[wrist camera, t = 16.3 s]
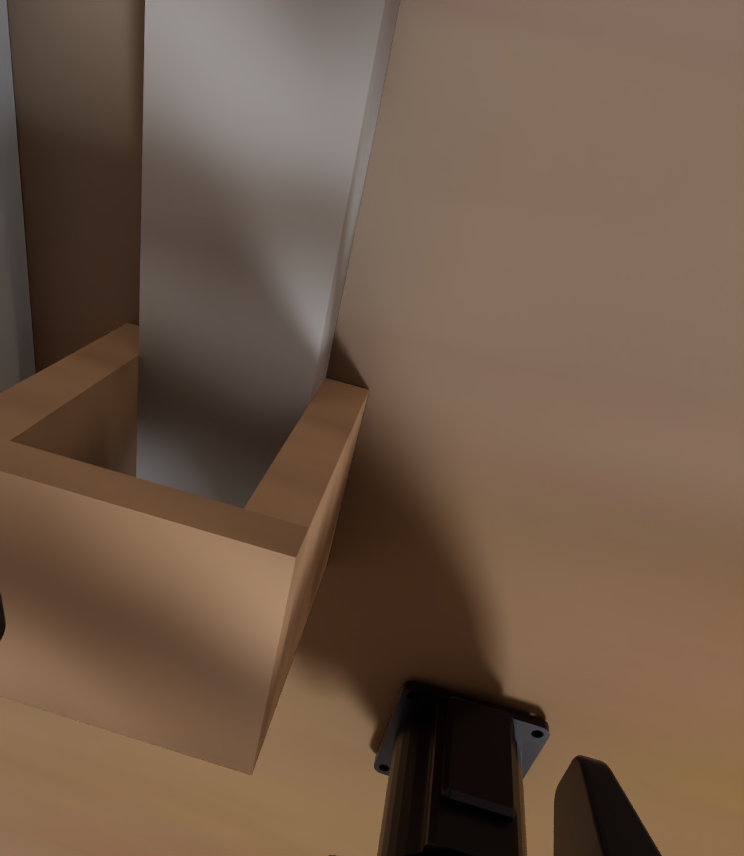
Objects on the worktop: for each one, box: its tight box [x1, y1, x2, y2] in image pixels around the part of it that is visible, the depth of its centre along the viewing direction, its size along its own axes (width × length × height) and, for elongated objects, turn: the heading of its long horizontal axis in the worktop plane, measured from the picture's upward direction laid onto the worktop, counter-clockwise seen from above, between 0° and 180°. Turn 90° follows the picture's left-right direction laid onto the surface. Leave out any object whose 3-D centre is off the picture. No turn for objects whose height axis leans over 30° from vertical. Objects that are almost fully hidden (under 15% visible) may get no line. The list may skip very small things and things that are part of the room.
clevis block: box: [0, 0, 400, 775], centre depth 13 cm, size 25×8×8 cm, turn 168°
